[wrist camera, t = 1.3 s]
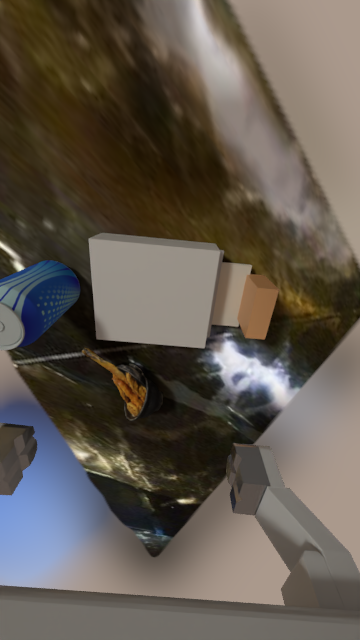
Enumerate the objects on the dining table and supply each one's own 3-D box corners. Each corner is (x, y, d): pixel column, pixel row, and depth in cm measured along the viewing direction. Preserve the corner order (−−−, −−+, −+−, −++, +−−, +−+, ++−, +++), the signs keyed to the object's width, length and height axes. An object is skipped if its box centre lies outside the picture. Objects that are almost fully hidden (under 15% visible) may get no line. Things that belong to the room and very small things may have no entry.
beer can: (38, 250, 40) (-45, 279, 25) (88, 271, 41) (37, 310, 27) (30, 294, 43) (-46, 341, 29) (77, 312, 44) (26, 365, 30)
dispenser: (102, 232, 38) (88, 238, 33) (221, 244, 39) (227, 251, 33) (106, 322, 45) (96, 339, 40) (207, 331, 46) (210, 348, 40)
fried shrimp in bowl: (146, 427, 51) (57, 415, 42) (149, 377, 58) (73, 357, 48) (172, 420, 45) (75, 404, 36) (173, 364, 52) (90, 339, 42)
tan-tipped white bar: (125, 253, 38) (114, 263, 32) (266, 266, 39) (282, 279, 33) (126, 315, 43) (116, 335, 37) (251, 326, 44) (262, 347, 37)
